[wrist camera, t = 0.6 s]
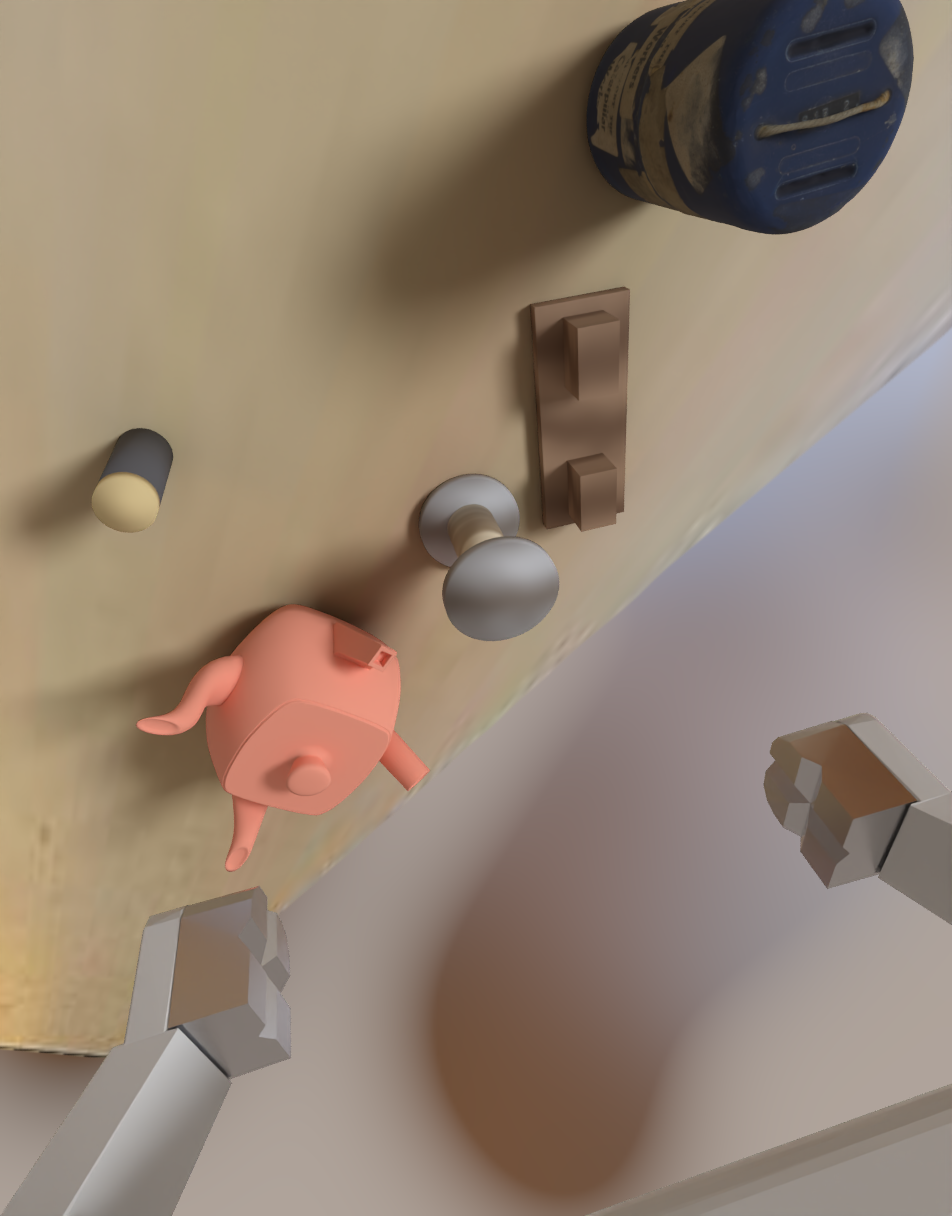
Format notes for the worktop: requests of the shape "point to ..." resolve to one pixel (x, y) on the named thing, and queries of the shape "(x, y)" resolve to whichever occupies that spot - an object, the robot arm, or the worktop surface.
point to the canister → (751, 107)
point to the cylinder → (133, 481)
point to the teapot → (296, 718)
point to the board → (582, 406)
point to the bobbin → (486, 559)
